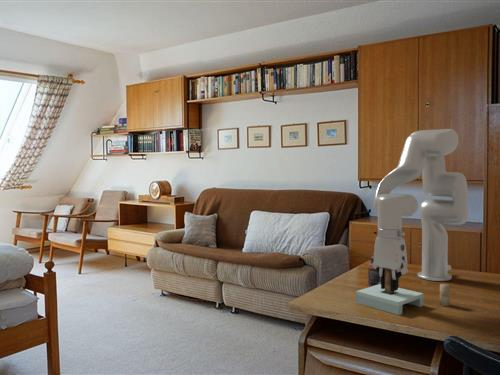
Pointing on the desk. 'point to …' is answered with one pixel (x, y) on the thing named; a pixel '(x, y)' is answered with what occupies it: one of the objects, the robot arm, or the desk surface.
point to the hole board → (388, 299)
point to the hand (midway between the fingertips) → (389, 288)
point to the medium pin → (444, 295)
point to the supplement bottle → (373, 275)
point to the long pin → (388, 281)
